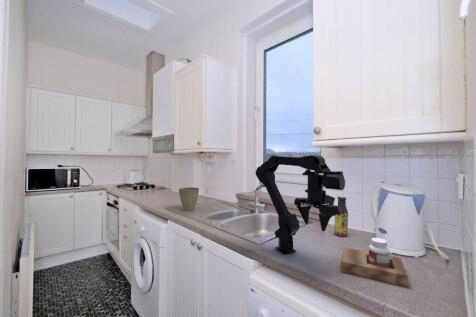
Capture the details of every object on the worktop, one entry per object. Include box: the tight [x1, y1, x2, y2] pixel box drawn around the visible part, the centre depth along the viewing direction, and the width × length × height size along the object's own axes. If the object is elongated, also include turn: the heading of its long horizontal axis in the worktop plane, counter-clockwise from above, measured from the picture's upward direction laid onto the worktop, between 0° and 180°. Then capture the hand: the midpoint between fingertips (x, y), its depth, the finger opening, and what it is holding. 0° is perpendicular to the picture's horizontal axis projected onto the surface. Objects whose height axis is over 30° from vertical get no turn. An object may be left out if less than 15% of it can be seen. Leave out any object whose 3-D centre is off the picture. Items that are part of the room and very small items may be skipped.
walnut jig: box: [340, 246, 409, 288], centre depth 79 cm, size 19×14×4 cm
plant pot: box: [178, 186, 200, 212], centre depth 164 cm, size 15×15×16 cm
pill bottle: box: [368, 237, 391, 268], centre depth 78 cm, size 6×6×11 cm
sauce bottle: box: [333, 195, 349, 237], centre depth 114 cm, size 7×6×20 cm
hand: (314, 227), depth 85 cm, fingers open, 9 cm apart
